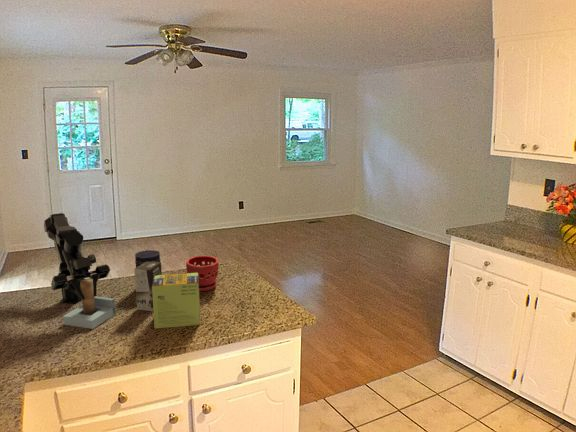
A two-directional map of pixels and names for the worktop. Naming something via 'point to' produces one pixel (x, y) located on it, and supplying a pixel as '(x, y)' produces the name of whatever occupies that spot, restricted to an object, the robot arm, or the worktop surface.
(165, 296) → the protein box
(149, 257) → the storage jar
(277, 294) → the worktop surface
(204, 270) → the plant pot
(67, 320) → the socket block
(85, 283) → the peg
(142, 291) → the coffee box
